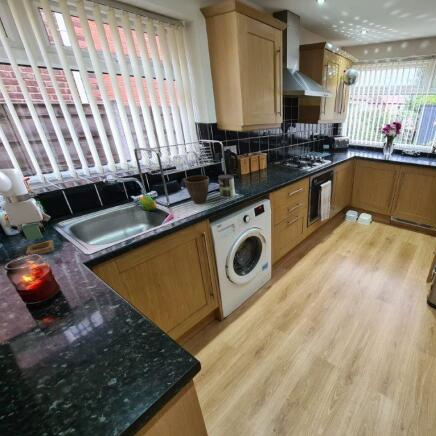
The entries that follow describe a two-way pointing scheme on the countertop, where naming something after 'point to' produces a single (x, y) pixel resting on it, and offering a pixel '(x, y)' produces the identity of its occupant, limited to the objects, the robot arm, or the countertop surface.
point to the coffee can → (226, 186)
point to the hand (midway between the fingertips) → (35, 235)
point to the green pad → (32, 231)
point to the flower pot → (197, 188)
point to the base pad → (40, 245)
